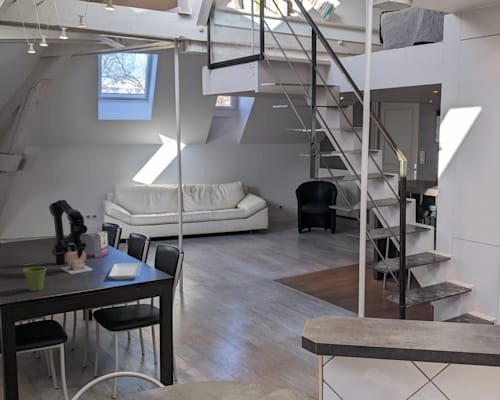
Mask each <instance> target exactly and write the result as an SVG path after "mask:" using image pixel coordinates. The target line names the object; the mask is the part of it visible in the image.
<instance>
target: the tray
mask: <svg viewBox="0 0 500 400" xmlns="http://www.w3.org/2000/svg"><path fill="white" fill-rule="evenodd" d="M141 267H142V263H139V262H138V263H137V262H136V263H135V262H132V263H131V262H129V263H127V262H124V263H114V264H113V266H112V267H111V270H110V271H109V274H108V277H109V278H110V279H113V280H114V281H115V280H116V281H119V280H134V279H136V278H137V277H138V276H139V274H140V270H141Z"/></svg>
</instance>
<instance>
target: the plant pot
mask: <svg viewBox="0 0 500 400" xmlns="http://www.w3.org/2000/svg"><path fill="white" fill-rule="evenodd" d="M47 269H48V268H47V267H45V266H32V267H26V268H23V270H22V271H23V272H24V275H25V277H26V278H25V279H26V284H27V289H28V291H30V292H35V291H41V290H43V288H44V282H45V274H46V271H47Z"/></svg>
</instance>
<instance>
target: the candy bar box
mask: <svg viewBox="0 0 500 400" xmlns="http://www.w3.org/2000/svg"><path fill="white" fill-rule="evenodd" d="M93 242H94V243H93V245H94V257H95V258H96V259H102V258H104V257H106V256H108V255H109V237H108V231H99V232H97V233H94V234H93Z"/></svg>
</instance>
